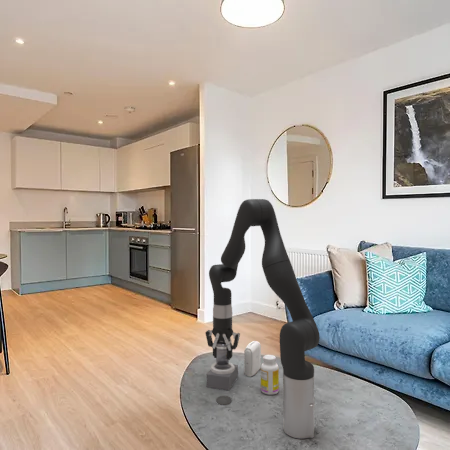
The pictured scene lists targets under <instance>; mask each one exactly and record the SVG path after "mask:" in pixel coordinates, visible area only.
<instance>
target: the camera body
mask: <svg viewBox="0 0 450 450" xmlns="http://www.w3.org/2000/svg"><path fill="white" fill-rule="evenodd" d="M238 378H239V364H235V363H232V362H229V364H228V365H218V364H216V362H214V363H212V364H211V365H210V369H209V371H208V372H207V373H206V388H209V387H212V388H211V389H216V388H218V389H217V390H222V389H223V390H224V391H230V390H231V388H232V387H233V385H234V384H235V382H236V381H237V379H238ZM223 390H222V391H223Z"/></svg>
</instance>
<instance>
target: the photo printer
mask: <svg viewBox="0 0 450 450" xmlns="http://www.w3.org/2000/svg"><path fill="white" fill-rule="evenodd" d="M261 347H262V346H261V343H260V342H259V341H257V340H253V341H251V342H249V343H248V344H247V345H246V347H245V349H244V354H243V355H244V356H243V358H244V360H243V361H244V362H243V365H244V367H243V368H244V371H243V373H244V375H245V377H246V376H247V377H253V376H255V375H256V373H258V372H259V371H260V370H261V364H262V361H261V359H262V357H261V356H262V355H261V354H262V353H261Z"/></svg>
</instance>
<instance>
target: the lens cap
mask: <svg viewBox="0 0 450 450" xmlns="http://www.w3.org/2000/svg"><path fill="white" fill-rule="evenodd" d="M232 401H233V399H232V397H230V396H227V395H221V396H218V397H216V398H215V403H216V402H217V403H218V404H217V403H216V404H217V405H219V404H220V406H228V405H230V404H232V403H233V402H232Z"/></svg>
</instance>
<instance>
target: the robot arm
mask: <svg viewBox="0 0 450 450" xmlns="http://www.w3.org/2000/svg"><path fill="white" fill-rule="evenodd" d="M252 227H260V229H261V231H262V235H263V238H264V247H263V252H262V257H261V258H262V259H261V267H262V271H263V274H264V277H265V280H266V282H267V286H269V288H271V290H272V291H273V292H274V293H275V294H276V296H277V297H278V298H279V299H280V300H281V302H282V303H283V304H285V307H286V308H287V311H288V312H289V315H290V317H291V320H292V321H289V322H285V323H284V324H283V325H282V326H281V328H280V330H279V355H280V362H281V363H280V364H281V366H282V367H281V368H282V387H283V388H282V408H283V409H282V417H283V418H282V431H283V432H284V433H285V434H286V435H287V436H289V437H292V438H294V439H299V440H301V439H302V440H303V439H309V438H311V439H313V438H314V435H315V427H316V426H315V424H316V421H315V420H316V417H315V415H316V414H315V413H316V412H315V411H316V405H315V404H316V401H315V400H316V396H315V367H314V364H313V363H312V362H310V361H308V360H306V356H305V352H307V351H310V350H312V349H315V348H316V347H317V346H318V345H319V343H320V330H319V328H318V325H317V322H316V321H315V319H314V316H313V314H312V313H311V310H310V308H309V307H308V305H307V302H306V299H305V297H304V295H303V292H302V289H301V288H300V285H299V283H298V280H297V276H296V273H295V271H294V268H293V265H292V262H291V260H290V257H289V254H288V252H287V249H286V246H285V243H284V241H283V238H282V235H281V232H280V227H279V224H278V219H277V215H276V212H275V209H274V206H273V204H272V203H271V202H270V200H268V199H265V198H251V199H250V198H249V199H245V200H244V201H242V202H241V204H240V205H239V207H238V210H237V213H236V217H235V220H234V223H233V227H232V230H231V234H230V237H229V240H228V242H227V244H226V246H225V248H224V250H223V253H222V254H221V256H220V262H221V264H214V265H211V266H210V269H209V271H208V277H209V281H210V284H211V288H212V293H213V307H212V329H211V330H210V329H207V330H206V331H205V333H204V334H205V338H206V342H207V345H208V347H211V348H212V356H213V358H214V359H216V344H217V342H218V341H223V342H225V343H226V345H227V347H228V360H229V361H230V360H231V359H232V358H233V350H236V349H237V347H238V346H239V345H238V344H239V340H240V336H241V333H239V332H237V333H236V332H234V330H233V307H232V306H233V305H232V290H231V289H230V288H228V287H224V286H223V285H222V283H230V282H231V281H232V282H233V280H234V279H235V278H236V277H237V272H238V266H239V263H240V261H241V259H242V258H243V256H244V254H245V251H246V240H245V235H246V233H247V231H248V230H249V229H250V228H252ZM212 335H213V337H214V340H213V337H212ZM232 336H233V339H234V340H233V343H232V339H231V337H232Z"/></svg>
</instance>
